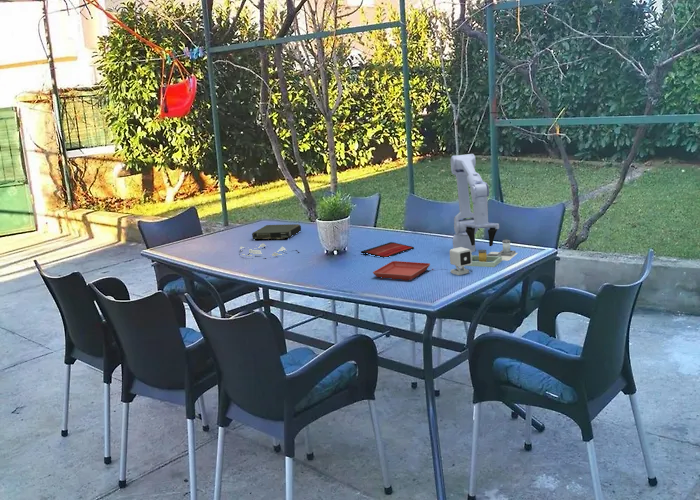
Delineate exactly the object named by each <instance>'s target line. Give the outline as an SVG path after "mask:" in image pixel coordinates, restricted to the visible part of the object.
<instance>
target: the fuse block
mask: <svg viewBox="0 0 700 500" xmlns="http://www.w3.org/2000/svg"><path fill="white" fill-rule="evenodd" d="M510 251H511V253H503V249H502V250H501V251H490V252H489V253H486V254H487V256H497V257H502V261H506V262H507V261H508V262H509V261H510V260H511V259H513V258H514V257H515V256H517V254H518V253H519V252H516V250H511V249H510Z"/></svg>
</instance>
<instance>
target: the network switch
mask: <svg viewBox="0 0 700 500" xmlns="http://www.w3.org/2000/svg"><path fill="white" fill-rule="evenodd" d="M299 231H301V232H302V226H301V225H300V224H298V223H297V224H296V223H295V224H291V223H290V224H289V223H288V224H266V225H264V226H263V227H261V228H259V229H257V230H256V231H253V232H252V233H251V235H252V236H251V237H252V240H253V239H268V240H269V239H271V240H272V239H274V240H275V239H276V240H286V239H285V238H289V237H291V236H292V235H294V234H296V233H298V232H299ZM298 234H299V233H298ZM296 235H297V234H296ZM294 236H295V235H294ZM291 238H292V237H291Z"/></svg>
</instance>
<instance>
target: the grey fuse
mask: <svg viewBox="0 0 700 500" xmlns="http://www.w3.org/2000/svg"><path fill="white" fill-rule="evenodd" d="M501 242H502V250H503V253H511V251H510V250H511V240H510V239H503V240H502V241H501Z"/></svg>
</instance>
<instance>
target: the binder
mask: <svg viewBox="0 0 700 500" xmlns="http://www.w3.org/2000/svg"><path fill="white" fill-rule="evenodd" d="M414 247H415V246H412V245H406V244H402V243H398V242H393V241H390V242H387V243H383V244H381V245H378V246H375V247H371V248H367V249H363V250H360V254H361V253H368V254H371V255H375V256H380V257H389V256H391V257H393V255H394V256H396V255H399V254H402V253H404V252H403V251H405V252H408V251H412V250H414V249H415V248H414ZM411 249H412V250H411ZM407 250H408V251H407ZM401 252H402V253H401ZM398 253H399V254H398ZM395 254H396V255H395ZM380 257H379V258H380ZM389 258H390V257H389Z"/></svg>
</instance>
